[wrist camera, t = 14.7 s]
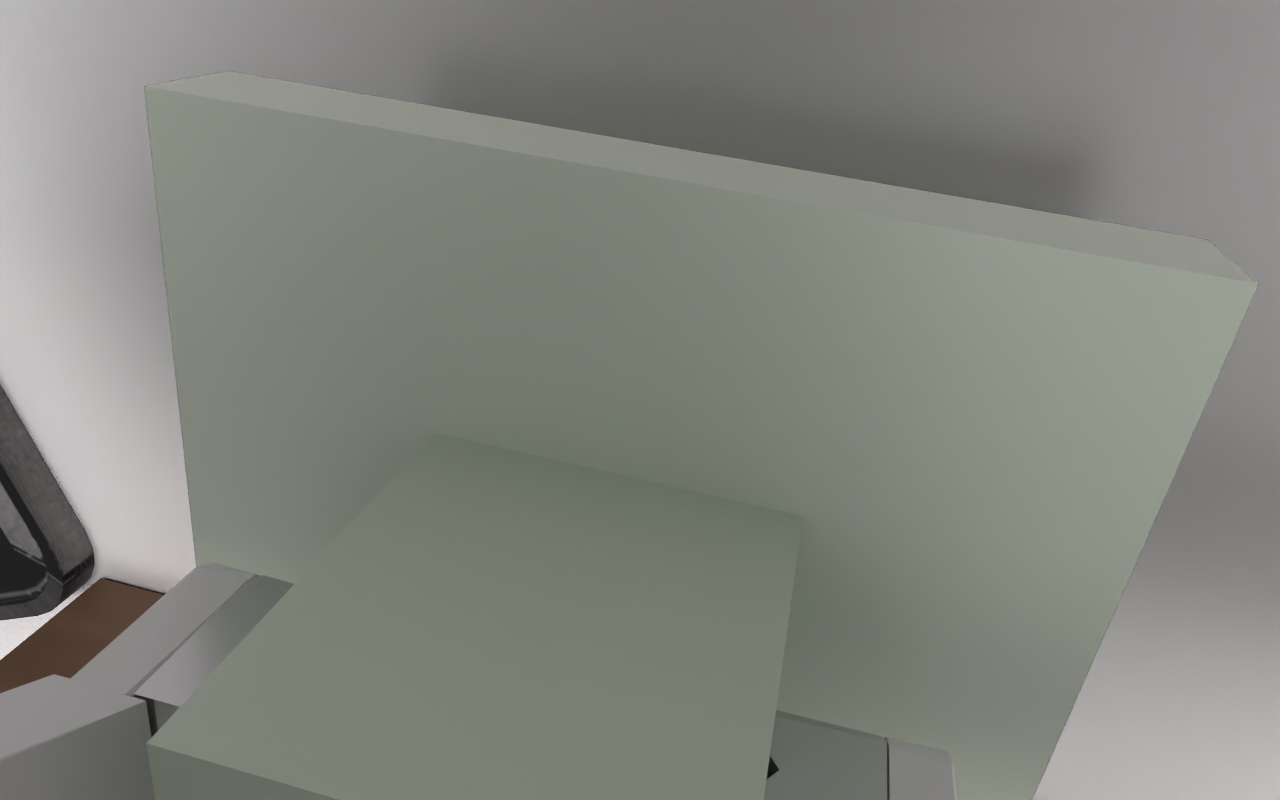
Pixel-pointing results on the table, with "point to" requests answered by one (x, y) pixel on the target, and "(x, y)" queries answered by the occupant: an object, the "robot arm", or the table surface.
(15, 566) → the phone
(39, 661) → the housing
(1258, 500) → the table surface
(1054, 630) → the cover
